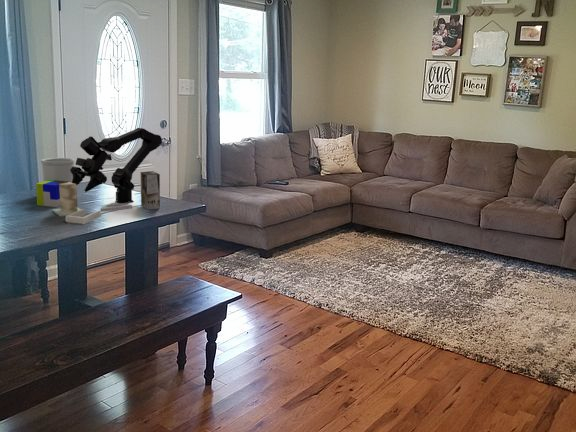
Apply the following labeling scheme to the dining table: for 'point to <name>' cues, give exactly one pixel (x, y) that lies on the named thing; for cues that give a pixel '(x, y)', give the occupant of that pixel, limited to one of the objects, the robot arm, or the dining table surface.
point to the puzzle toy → (49, 193)
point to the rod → (116, 207)
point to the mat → (61, 213)
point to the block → (68, 197)
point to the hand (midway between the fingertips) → (78, 189)
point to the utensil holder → (57, 169)
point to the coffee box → (150, 190)
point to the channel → (78, 218)
